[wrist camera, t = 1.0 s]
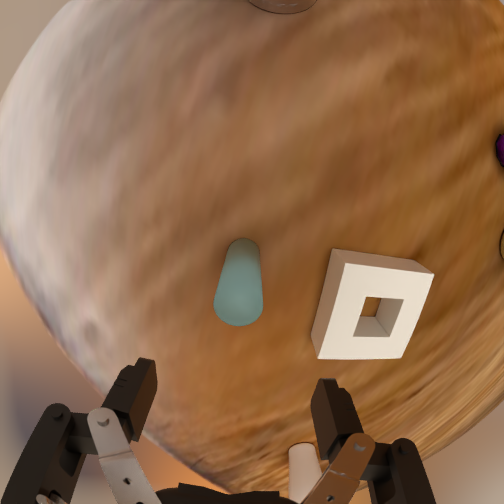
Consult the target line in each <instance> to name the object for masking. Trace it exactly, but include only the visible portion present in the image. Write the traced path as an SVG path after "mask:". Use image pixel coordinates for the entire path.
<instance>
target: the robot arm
mask: <svg viewBox="0 0 504 504" xmlns="http://www.w3.org/2000/svg"><path fill="white" fill-rule="evenodd" d="M249 1H250V2H251V3H252V4H254V5H255V6H257V7H259V8H261V9H264V10H267V11H270V12H275V13H285V14H286V13H296V12H301V11H304V10H306V9H308V8H310V7H311V6H312V5H313V4H314V3H315V2H316V0H249ZM156 391H157V374H156V365H155V361H154V360H150V359H145V358H141V357H140V358H139V359H138V360H137V362H136V364H135V366H131V365H128V366H126V367H125V368H124V369H122V370H121V371H120V373H119V375H118V377H117V379H116V380H115V382H114V385H113V386H112V388H111V389H110V391H109V393H108V395H107V397H106V399H105V401H104V402H103V404H102V406H101V407H100V408H96V409H94V410H92V411H91V412H90V413H88V414H84V413H73V412H70V410H69V408H68V407H67V406H65V405H63V404H60V403H55V404H51V405H50V406H48V407H47V408H46V410H45V411H44V413H43V415H42V417H41V418H40V420H39V422H38V424H37V425H36V427H35V429H34V431H33V433H32V435H31V436H30V439H29V440H28V442H27V444H26V446H25V448H24V450H23V452H22V454H21V456H20V458H19V460H18V462H17V465H16V466H15V469H14V471H13V473H12V475H11V477H10V480H9V482H8V484H7V487H6V489H5V492H4V494H3V497H2V499H1V504H70V502H71V498H72V495H73V492H74V489H75V486H76V483H77V480H78V477H79V474H80V471H81V468H82V466H83V463H84V460H85V458H86V455H87V454H95V455H96V454H97V455H99V461H100V464H101V467H102V469H103V472H104V474H105V477H106V479H107V481H108V484H109V486H110V488H111V490H112V492H113V495H114V497H115V499H116V501H117V503H118V504H299V503H297V502H295V501H293V500H290V499H288V498H284V497H280V496H279V491H252V492H246V493H239V494H231V495H229V494H224V493H221V492H218V491H215V490H212V489H209V488H206V487H202V486H196V485H190V484H184V483H179V485H178V488H167V489H163V490H160V491H157V492H154V490H153V489H152V487H151V485H150V483H149V482H148V480H147V478H146V476H145V474H144V473H143V471H142V469H141V467H140V465H139V463H138V461H137V459H136V457H135V455H134V453H133V451H132V450H131V448H130V446H129V444H130V442H131V440H133V441H136V442H138V441H139V438H140V435H141V433H142V430H143V427H144V424H145V421H146V419H147V416H148V413H149V410H150V408H151V405H152V402H153V400H154V397H155V394H156ZM311 413H312V418H313V422H314V427H315V432H316V437H317V442H318V447H319V452H320V458H321V460H329V466H328V467H327V469H326V470H325V471H324V473H323V474H322V476H321V477H320V479H319V480H318V481H317V483H316V484H315V485H314V487H313V488H312V489H311V491H310V492H309V493H308V495H307V496H306V497H305V498H304V499H303V501H302V502H301V503H300V504H349V502H350V500H351V499H352V497H353V495H354V493H355V492H356V490H357V488H358V486H359V484H360V481H359V480H366V481H367V482H368V487H369V492H370V497H371V502H372V504H436V502H435V499H434V495H433V492H432V489H431V487H430V483H429V480H428V478H427V475H426V472H425V469H424V467H423V464H422V461H421V458H420V455H419V453H418V450H417V448H416V445H415V444H414V443H413V442H412V441H411V440H409V439H406V438H400V439H397V440H395V441H394V442H393V443H392V444H385V443H377V442H374V440H373V439H372V438H371V437H370V436H369V435H367V434H364V431H363V429H362V426H361V423H360V420H359V417H358V415H357V412H356V410H355V406H354V404H353V401H352V398H351V395H350V394H349V393H348V392H347V391H346V390H345V389H344V388H339V387H338V384H337V381H336V379H335V378H320V379H319V381H318V383H317V386H316V389H315V391H314V394H313V396H312V399H311Z"/></svg>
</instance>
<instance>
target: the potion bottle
mask: <svg viewBox="0 0 504 504" xmlns="http://www.w3.org/2000/svg"><path fill="white" fill-rule="evenodd" d="M496 154H497V158H498V160H499V162H500V164H501V166H502V167H504V135H501V134H499V136H498V138H497V141H496Z"/></svg>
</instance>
